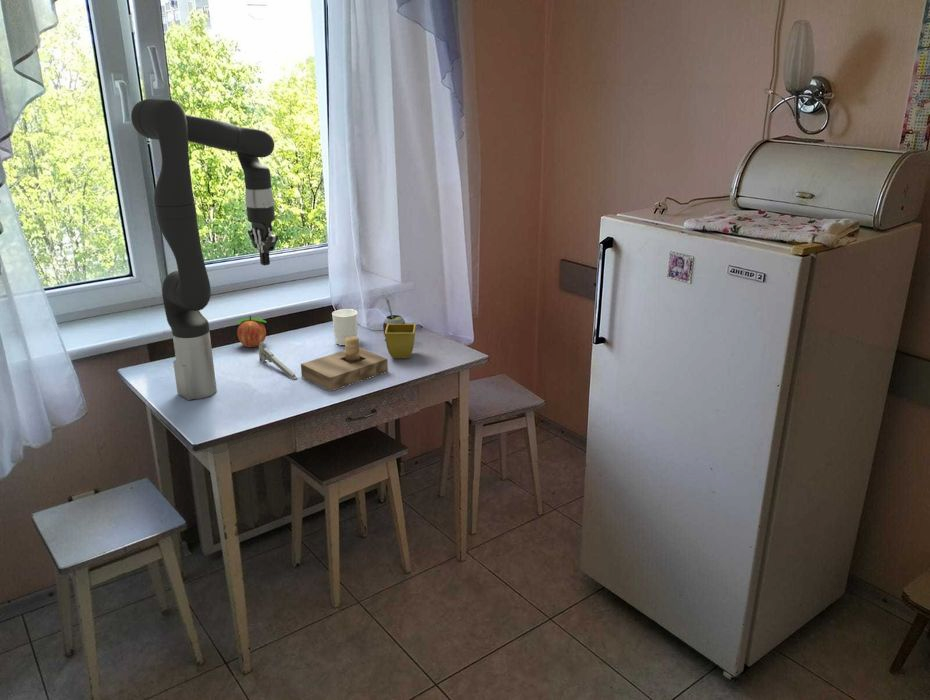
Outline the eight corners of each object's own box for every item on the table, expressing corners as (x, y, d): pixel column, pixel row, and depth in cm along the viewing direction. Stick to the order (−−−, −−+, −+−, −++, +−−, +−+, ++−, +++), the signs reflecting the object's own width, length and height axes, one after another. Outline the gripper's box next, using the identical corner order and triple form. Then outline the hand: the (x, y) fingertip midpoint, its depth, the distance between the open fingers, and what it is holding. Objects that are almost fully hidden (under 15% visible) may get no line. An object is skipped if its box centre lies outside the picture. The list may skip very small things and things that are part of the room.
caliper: (259, 360, 226) (257, 341, 224) (262, 360, 227) (260, 340, 224) (294, 381, 212) (292, 360, 210) (298, 380, 213) (296, 359, 210)
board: (330, 391, 205) (329, 377, 203) (301, 376, 214) (300, 363, 213) (387, 371, 218) (387, 358, 217) (358, 358, 227) (357, 346, 226)
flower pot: (388, 350, 234) (387, 323, 231) (416, 350, 234) (415, 323, 231) (385, 361, 226) (384, 333, 223) (414, 361, 226) (414, 333, 223)
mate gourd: (404, 344, 239) (403, 299, 234) (379, 344, 239) (377, 299, 234) (407, 336, 246) (406, 292, 240) (383, 336, 246) (381, 292, 241)
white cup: (334, 338, 244) (332, 309, 240) (359, 338, 245) (357, 308, 241) (333, 347, 236) (331, 317, 233) (358, 346, 237) (357, 316, 234)
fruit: (263, 351, 233) (261, 320, 229) (233, 350, 233) (229, 319, 230) (271, 341, 241) (268, 311, 238) (241, 340, 241) (238, 311, 238)
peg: (351, 375, 215) (350, 342, 212) (343, 371, 218) (341, 338, 215) (363, 371, 218) (361, 339, 215) (354, 367, 221) (353, 335, 217)
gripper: (235, 202, 213) (241, 262, 219) (260, 209, 204) (266, 271, 210) (259, 199, 218) (264, 258, 224) (284, 205, 209) (289, 266, 215)
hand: (265, 264), depth 217 cm, fingers closed
